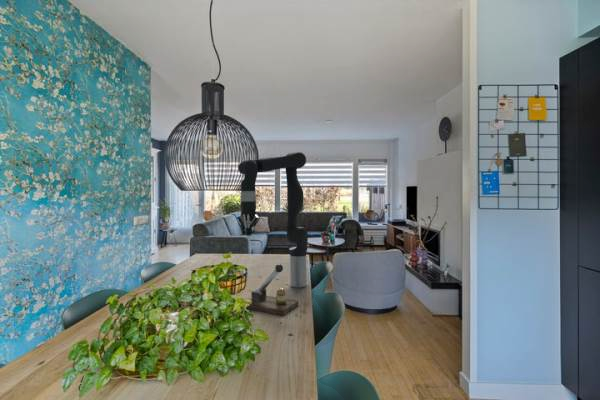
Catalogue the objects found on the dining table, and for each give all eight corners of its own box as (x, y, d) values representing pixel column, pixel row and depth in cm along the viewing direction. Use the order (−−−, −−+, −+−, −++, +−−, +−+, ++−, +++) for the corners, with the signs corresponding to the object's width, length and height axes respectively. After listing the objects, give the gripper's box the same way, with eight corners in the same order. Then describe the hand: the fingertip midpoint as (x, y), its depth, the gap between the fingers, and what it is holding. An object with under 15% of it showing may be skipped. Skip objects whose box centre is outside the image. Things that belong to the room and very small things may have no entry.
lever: (257, 290, 148) (280, 261, 142) (261, 296, 147) (285, 267, 140) (252, 292, 145) (276, 263, 138) (257, 298, 143) (281, 269, 137)
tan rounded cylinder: (279, 301, 143) (279, 286, 143) (287, 302, 141) (287, 287, 141) (274, 304, 139) (274, 288, 139) (283, 306, 137) (282, 290, 137)
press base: (258, 298, 154) (258, 285, 154) (298, 305, 144) (298, 290, 144) (241, 307, 141) (241, 293, 141) (283, 315, 131) (282, 299, 131)
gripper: (263, 200, 155) (264, 235, 155) (242, 200, 161) (242, 234, 161) (254, 200, 148) (255, 237, 149) (232, 200, 154) (233, 235, 155)
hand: (248, 235), depth 155 cm, fingers closed
